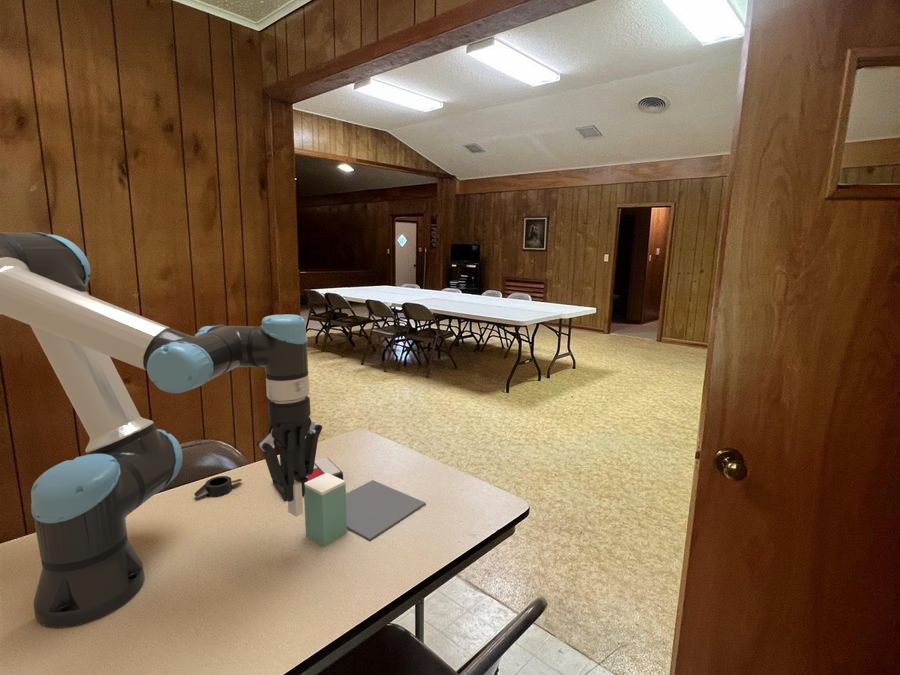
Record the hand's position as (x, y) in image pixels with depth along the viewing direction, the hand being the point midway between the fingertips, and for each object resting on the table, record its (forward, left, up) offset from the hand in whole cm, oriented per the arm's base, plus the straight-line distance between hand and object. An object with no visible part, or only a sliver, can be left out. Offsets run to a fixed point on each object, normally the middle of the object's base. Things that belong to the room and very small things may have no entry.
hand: (295, 512), depth 91 cm
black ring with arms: (-36, +2, -9) cm, 37 cm away
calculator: (-22, +18, -9) cm, 30 cm away
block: (0, +7, -9) cm, 11 cm away
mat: (0, +20, -9) cm, 22 cm away
